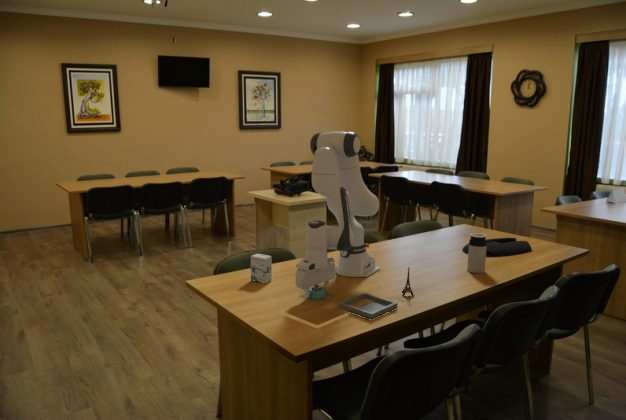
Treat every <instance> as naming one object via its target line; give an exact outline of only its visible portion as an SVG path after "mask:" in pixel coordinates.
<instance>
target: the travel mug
mask: <svg viewBox="0 0 626 420" xmlns="http://www.w3.org/2000/svg"><path fill="white" fill-rule="evenodd" d="M469 236H470V239H469V241H468V244H469V252H468V254H467V255H468V256H467V271H468V272H470V273H471V274H483V273H485V272H486V259H487V256H486V246H487V242H486V238H487V234H485V233H481V232H480V233H478V232H472V233H470V234H469Z"/></svg>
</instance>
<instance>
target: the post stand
mask: <svg viewBox="0 0 626 420" xmlns="http://www.w3.org/2000/svg"><path fill="white" fill-rule="evenodd" d="M313 287H314V291H319V287H320V284H317V285H314V286H313ZM299 297H301V298H303V299H306V300H308V301H312V302H314V303H319V302H322V301H324V300H325V301H326V300H327V299H330V298H332V297H334V295H332V294H330V293H327V292H325V296H324V298H321V299H312V298H310V297H306V296H305V293H304V294H301V295H299Z"/></svg>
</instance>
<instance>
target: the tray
mask: <svg viewBox="0 0 626 420" xmlns="http://www.w3.org/2000/svg"><path fill="white" fill-rule="evenodd" d="M365 298H367V299H370V300H373V301H371V302H369V303H366V304H363V305H361V306H359V307H355V306H354V305H350V304H352V303H355V302H357V301H360V300H362V299H365ZM398 305H399V304H398V302H396V301H394V300H391V299H387V298H384V297H380V296H378V295H374V294H371V293H368V292H362V293H360V294H358V295H354V296H352V297H349V298H347V299H344V300H343V301H341V302H338V307H339V308H341V309H344V310H348V313H349V312H351V313H354V314H357V315H360V316H362V317H365V318H368V319H371V320H372V319H374V318H376V317H378V316H381V315H383V314H385V313H387V312H390V311H392V310H394V309H396V308H397V309H398ZM397 309H396V310H397ZM394 311H395V310H394ZM392 312H393V311H392ZM351 313H350V314H351ZM390 313H391V312H390ZM354 314H353V315H354ZM387 314H388V313H387ZM357 315H356V316H357ZM385 315H386V314H385ZM360 316H359V317H360ZM383 316H384V315H383ZM362 317H361V318H362ZM381 317H382V316H381ZM365 318H364V319H365ZM368 319H367V320H368ZM371 320H370V321H371ZM374 320H375V319H374ZM372 321H373V320H372Z"/></svg>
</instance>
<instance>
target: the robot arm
mask: <svg viewBox="0 0 626 420" xmlns="http://www.w3.org/2000/svg"><path fill="white" fill-rule="evenodd" d="M309 146H310V148H309V149H310V151H311V153H312V155H313V159H312V166H311V186H312V188H313V190H314V191H315V192H316V193H317V194H319V195H320V196H321V197H324V198H326V205H327V207H328V208H327V209H328V210H329V211H330V212H331V213H332V214H333V215H334V216H335V218H336V221H337V223H338V225H337V226H336V225H327V224H326V222H325V221H324V220H320V219H319V220H318V219H317V220H315V219H314V220H311V221H310V222H308V223H307V225H306V229H305V231H306V232H305V247H306V251H305V256H304V257H303V258H301V259H300V260H299V261H297V263H296V264H295V266H296V269H297V270H295V271H296V272H295V286H296V287H297V289H300V290H303V291H304V294H305V296H306V297H311V293H310V292H309V288H310V287H314V285H320V284H323V285H322V287H323V288H324V289H325V292H327V291H328V287H329V284H330V281H333V280H335V279H336V277H337V274H338V275H339V276H343V277H350V278H356V277H357V278H358V277H359V278H367V277H369V276H371V275H372V274H374V273H375V274H376V272H378V271H380V270H381V266H379V265H377V264H376V260H375V256H373V254H371V253H369V252H368V251H367V249H366V248H370V244H371V243H367V242H366V243H364V242H365V240H364V239H365V229H364V227H363V225H362V224H361V223H360V222H358V220H357V219H356V218H355V216H356V217H371V216H372V217H373V216H375V215H376V214H377V212H378V211H379V210H380V202H379V201H380V200H379V199H378V196H376V195H375V194H374V193H373V192H371V191H370V189H368V187H367V185H366V184H365V182H364V179H363V176H362V172H361V167H360V159H359V155H358V153H359V152H360V151H361V139H360V137H359V135H358V134H357V133H356V132H353V131H347V132H346V131H339V130H338V131H337V130H336V131H335V130H334V131H327V132H318V133H317V132H316V133H314V134H313V136H312V137H311V138H310V143H309ZM328 250H336V251H338V257H337V266H336V263H335V258H333V257H331V256H330V257H328Z"/></svg>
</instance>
